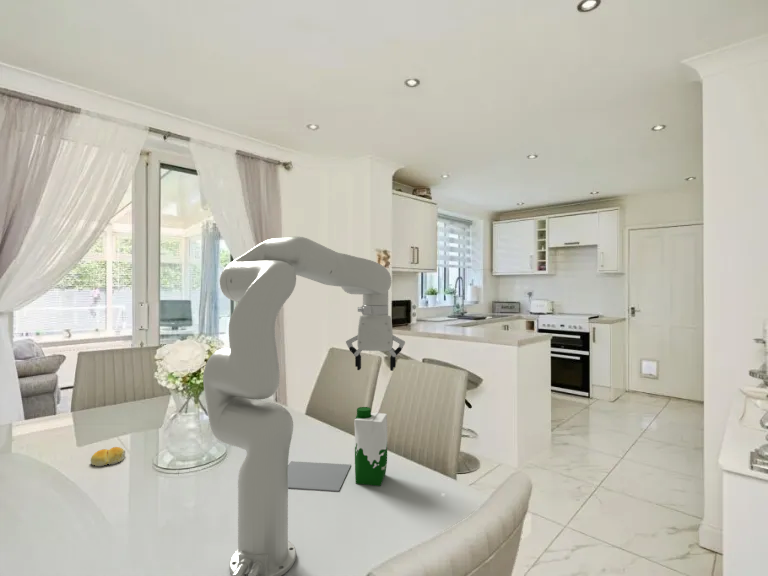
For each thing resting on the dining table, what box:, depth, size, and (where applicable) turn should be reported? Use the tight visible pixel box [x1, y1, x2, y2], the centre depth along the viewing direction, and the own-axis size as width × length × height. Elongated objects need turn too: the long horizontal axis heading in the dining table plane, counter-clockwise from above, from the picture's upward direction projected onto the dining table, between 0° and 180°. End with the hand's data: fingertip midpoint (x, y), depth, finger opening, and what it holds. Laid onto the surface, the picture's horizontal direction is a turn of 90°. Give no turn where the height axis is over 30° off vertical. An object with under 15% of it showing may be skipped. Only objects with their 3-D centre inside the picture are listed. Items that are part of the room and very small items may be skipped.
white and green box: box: [353, 406, 388, 487], centre depth 115 cm, size 9×9×20 cm
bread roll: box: [90, 446, 126, 467], centre depth 127 cm, size 8×9×4 cm
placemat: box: [288, 460, 352, 492], centre depth 117 cm, size 16×19×1 cm
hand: (375, 369), depth 118 cm, fingers open, 9 cm apart
